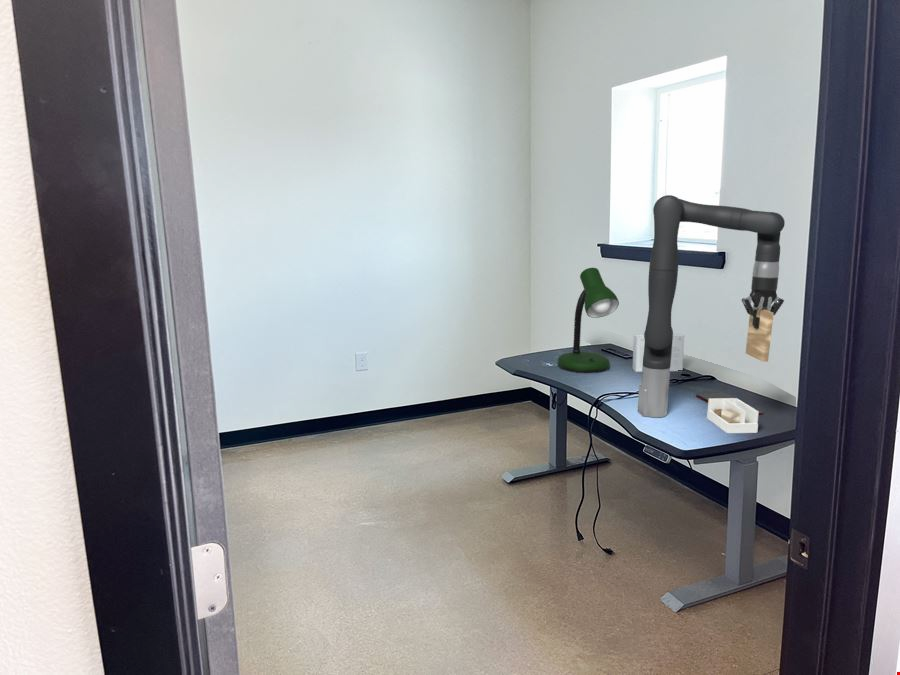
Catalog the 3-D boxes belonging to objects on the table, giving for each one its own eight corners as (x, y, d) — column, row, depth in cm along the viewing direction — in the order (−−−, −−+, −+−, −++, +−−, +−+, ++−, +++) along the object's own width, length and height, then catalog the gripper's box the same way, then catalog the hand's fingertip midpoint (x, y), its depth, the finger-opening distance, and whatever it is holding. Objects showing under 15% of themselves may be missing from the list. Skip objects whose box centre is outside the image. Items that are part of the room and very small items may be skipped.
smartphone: (735, 415, 227) (694, 393, 251) (734, 419, 227) (694, 397, 251) (766, 412, 229) (722, 391, 253) (765, 417, 230) (722, 395, 254)
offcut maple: (729, 422, 213) (730, 414, 212) (720, 417, 218) (721, 409, 217) (739, 422, 214) (740, 413, 213) (730, 417, 218) (731, 408, 218)
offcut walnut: (719, 423, 220) (720, 412, 220) (713, 420, 224) (714, 409, 223) (728, 423, 221) (729, 412, 220) (722, 419, 224) (723, 408, 223)
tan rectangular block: (762, 361, 210) (768, 312, 207) (745, 353, 221) (750, 306, 217) (768, 361, 210) (773, 312, 207) (750, 353, 221) (755, 306, 218)
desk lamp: (628, 375, 279) (634, 270, 270) (580, 379, 273) (585, 272, 264) (593, 358, 308) (598, 263, 299) (549, 362, 302) (553, 264, 293)
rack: (727, 433, 211) (729, 412, 210) (706, 417, 226) (708, 398, 225) (757, 432, 212) (759, 412, 210) (735, 417, 227) (736, 398, 225)
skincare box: (678, 368, 291) (680, 333, 288) (682, 371, 286) (685, 336, 283) (631, 368, 291) (633, 333, 287) (635, 372, 285) (637, 336, 282)
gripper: (750, 276, 206) (745, 330, 209) (792, 276, 207) (786, 330, 210) (738, 274, 213) (733, 326, 217) (779, 273, 214) (774, 325, 218)
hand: (759, 327), depth 213 cm, fingers closed on tan rectangular block, 2 cm apart
